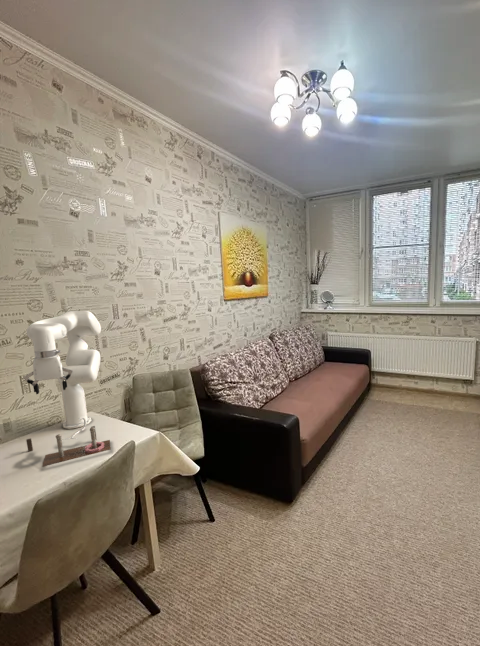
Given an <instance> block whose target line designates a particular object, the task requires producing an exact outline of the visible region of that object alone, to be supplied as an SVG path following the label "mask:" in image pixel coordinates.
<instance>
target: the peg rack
mask: <svg viewBox="0 0 480 646" xmlns="http://www.w3.org/2000/svg"><path fill="white" fill-rule="evenodd" d="M95 431H96V427H95V428H94V427H92V426H91V427H90V428H89V432H90V438H91V443H92V446H91V447H90V448H88V449H91V450H92V449H96V448H98V447H100V446H101V445H96V442H97V440H96V439H97V436H96V437H95ZM55 439H56V444H57V451H56V452H52V453H48V454H45V456H44V459H43V463H42V465H41V467H42V468H44V467H48V466H52V465H54V464H55V465H56V464H59V463H63V462H67V461H71V460H76V459H79V458H82V457H86V456H90V455H95V454H99V453H102V452H106V451H110V450H111V440H110V439H106V440H103V441H101V442H103V443H104V448H102V449H101V450H99V451H96V452H92V453H88V452H85V447H86V446H87V445H88V444H86V445H81V446H78V447H73V448H70V449H69V448H68V449H65V450H64V448H63V447H64V446H63V439H62V434H60V433H58V434H56V435H55Z"/></svg>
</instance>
